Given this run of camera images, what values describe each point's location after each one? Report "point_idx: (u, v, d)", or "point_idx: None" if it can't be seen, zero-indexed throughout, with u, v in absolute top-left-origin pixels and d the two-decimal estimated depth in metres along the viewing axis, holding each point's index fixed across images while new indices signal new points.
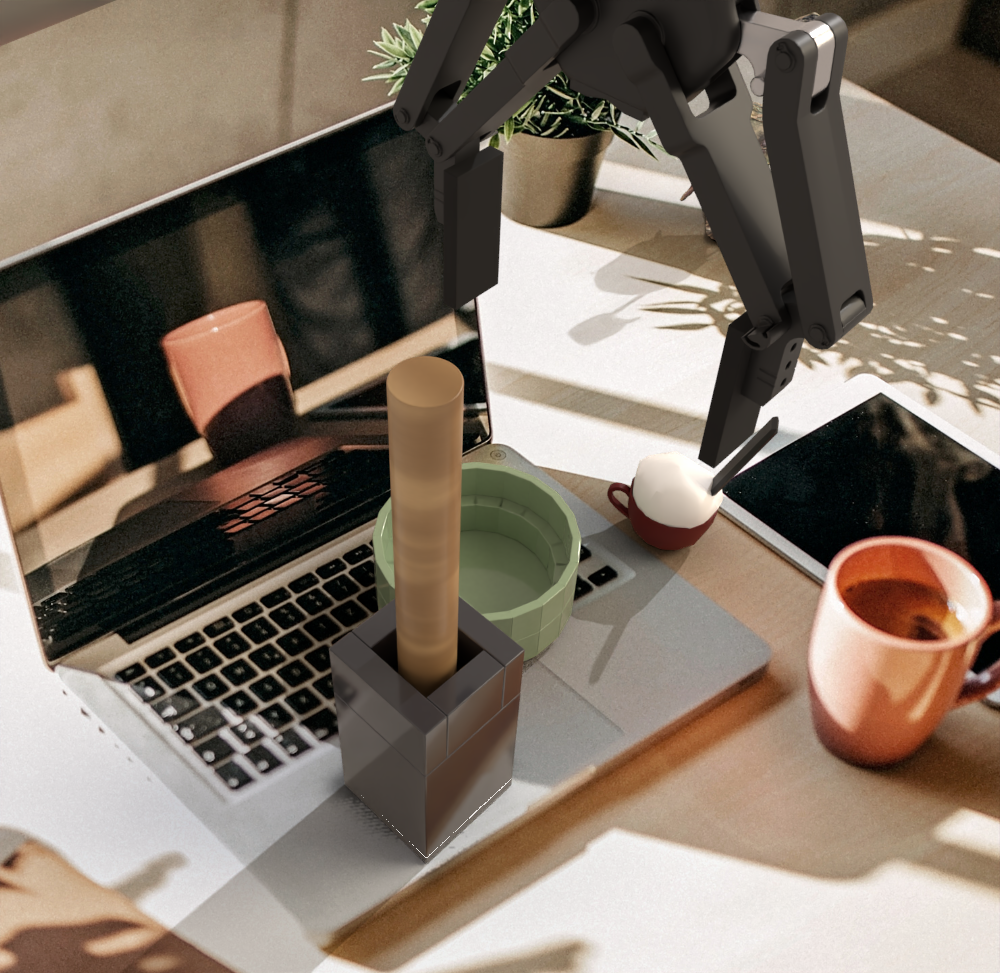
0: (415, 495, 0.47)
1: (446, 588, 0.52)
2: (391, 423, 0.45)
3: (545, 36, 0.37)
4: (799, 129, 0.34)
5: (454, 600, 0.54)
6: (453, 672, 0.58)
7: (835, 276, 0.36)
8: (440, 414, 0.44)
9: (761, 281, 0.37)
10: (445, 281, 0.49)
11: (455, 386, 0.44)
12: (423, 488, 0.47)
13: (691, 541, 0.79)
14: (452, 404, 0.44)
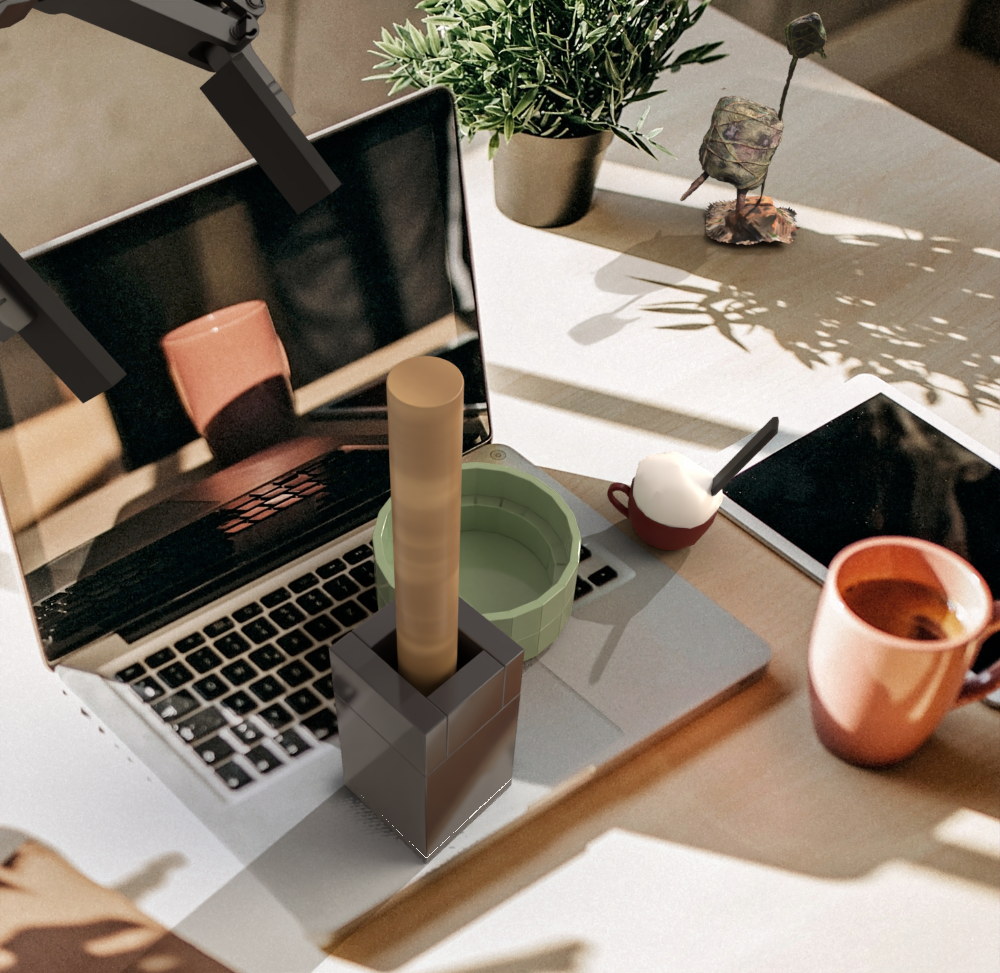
0: (415, 495, 0.47)
1: (446, 588, 0.52)
2: (391, 423, 0.45)
3: None
4: None
5: (454, 600, 0.54)
6: (453, 672, 0.58)
7: None
8: (440, 414, 0.44)
9: (204, 8, 0.46)
10: (91, 358, 0.40)
11: (455, 386, 0.44)
12: (423, 488, 0.47)
13: (691, 541, 0.79)
14: (452, 404, 0.44)
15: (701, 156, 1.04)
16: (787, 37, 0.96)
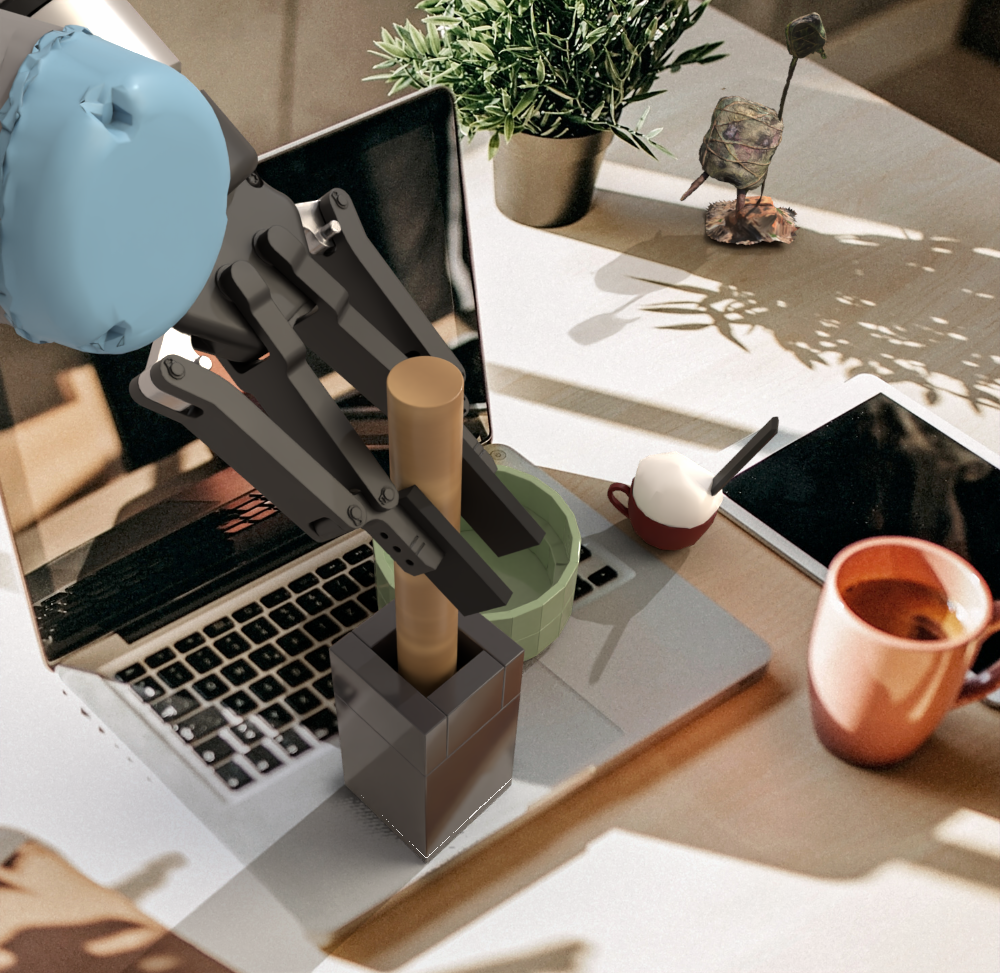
0: None
1: None
2: (391, 423, 0.45)
3: (263, 308, 0.43)
4: (369, 242, 0.49)
5: None
6: (453, 672, 0.58)
7: None
8: (440, 414, 0.44)
9: None
10: (489, 584, 0.48)
11: (455, 386, 0.44)
12: (423, 488, 0.47)
13: (691, 541, 0.79)
14: (452, 404, 0.44)
15: (701, 156, 1.04)
16: (787, 37, 0.96)
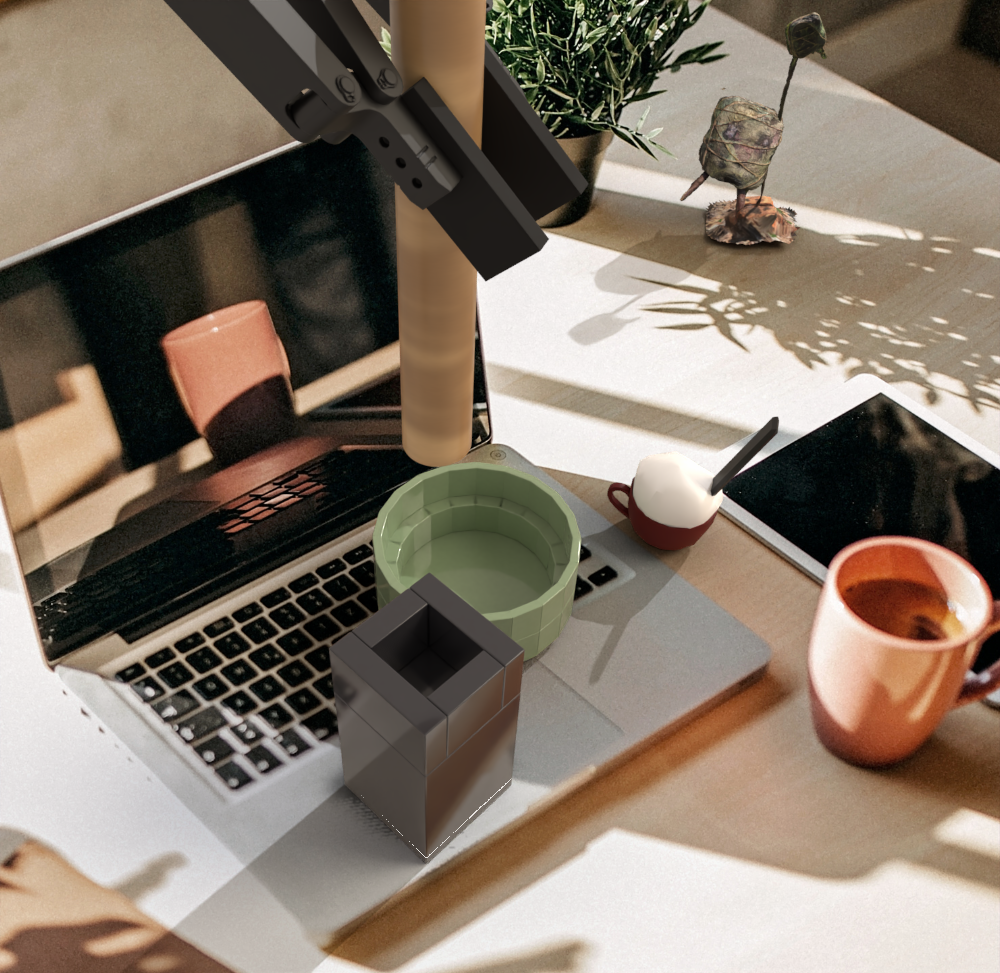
0: None
1: (462, 262, 0.41)
2: None
3: None
4: None
5: (472, 287, 0.43)
6: (469, 405, 0.47)
7: None
8: None
9: None
10: (519, 220, 0.37)
11: None
12: (434, 83, 0.36)
13: (691, 541, 0.79)
14: None
15: (701, 156, 1.04)
16: (787, 37, 0.96)
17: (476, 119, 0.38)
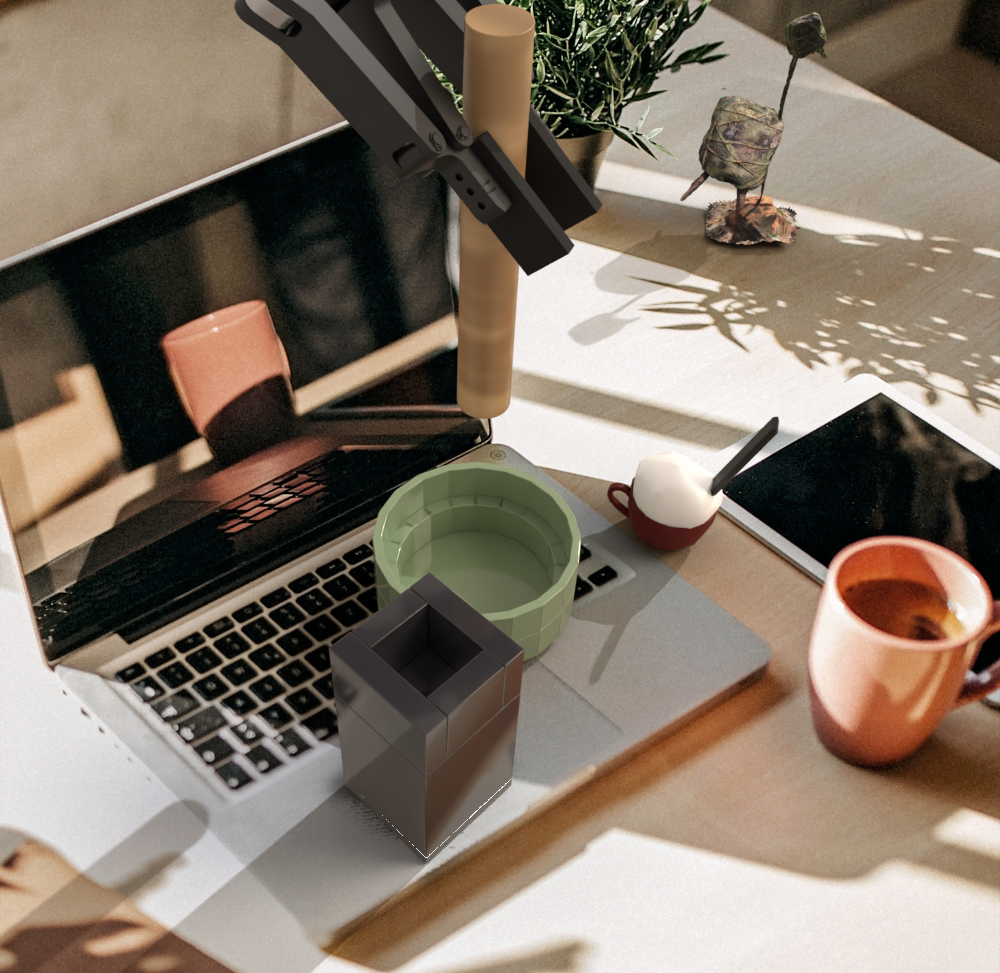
0: None
1: (509, 261, 0.56)
2: (467, 63, 0.49)
3: None
4: None
5: (515, 280, 0.58)
6: (510, 370, 0.62)
7: None
8: (514, 46, 0.48)
9: None
10: (554, 232, 0.52)
11: (527, 23, 0.48)
12: (494, 134, 0.51)
13: (691, 541, 0.79)
14: (525, 37, 0.48)
15: (701, 156, 1.04)
16: (787, 37, 0.96)
17: (522, 158, 0.53)
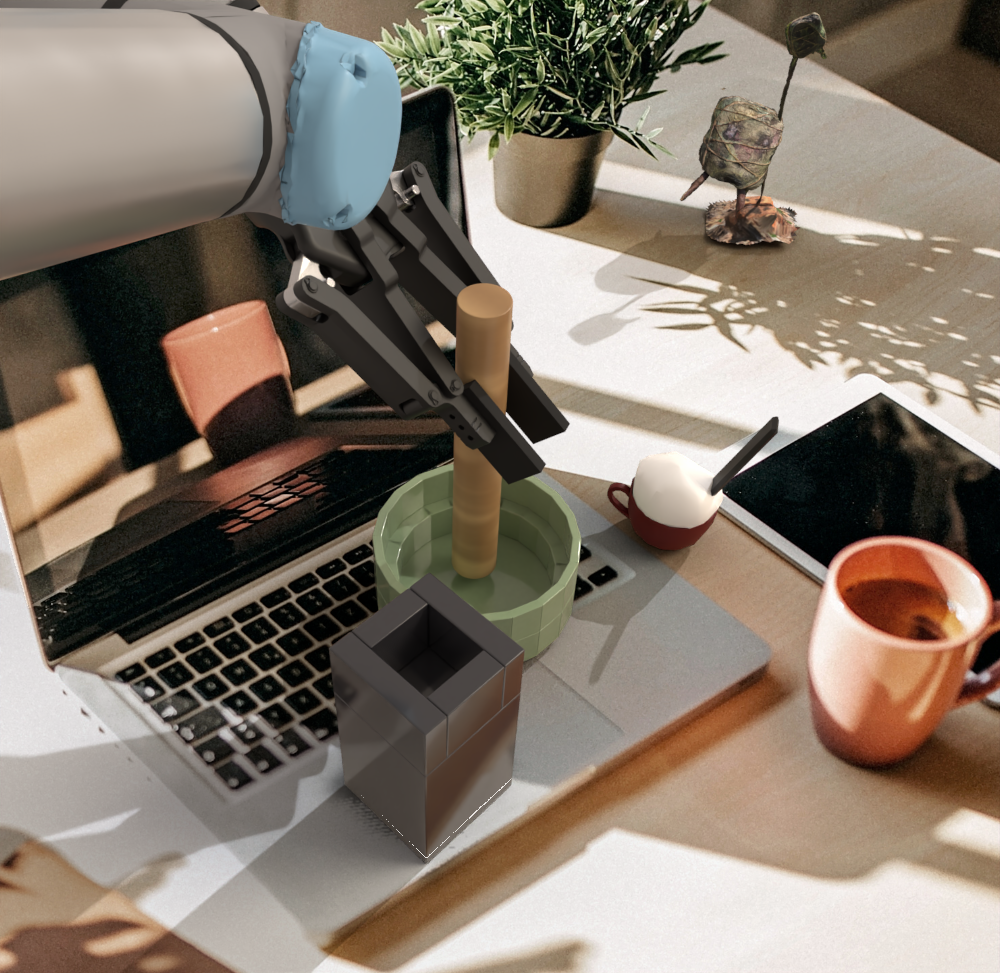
0: None
1: None
2: (459, 332, 0.62)
3: (369, 246, 0.60)
4: (439, 201, 0.65)
5: (499, 478, 0.70)
6: (495, 541, 0.74)
7: None
8: (496, 324, 0.60)
9: None
10: (529, 456, 0.65)
11: (506, 303, 0.61)
12: (480, 382, 0.63)
13: (691, 541, 0.79)
14: (504, 316, 0.60)
15: (701, 156, 1.04)
16: (787, 37, 0.96)
17: (504, 395, 0.65)
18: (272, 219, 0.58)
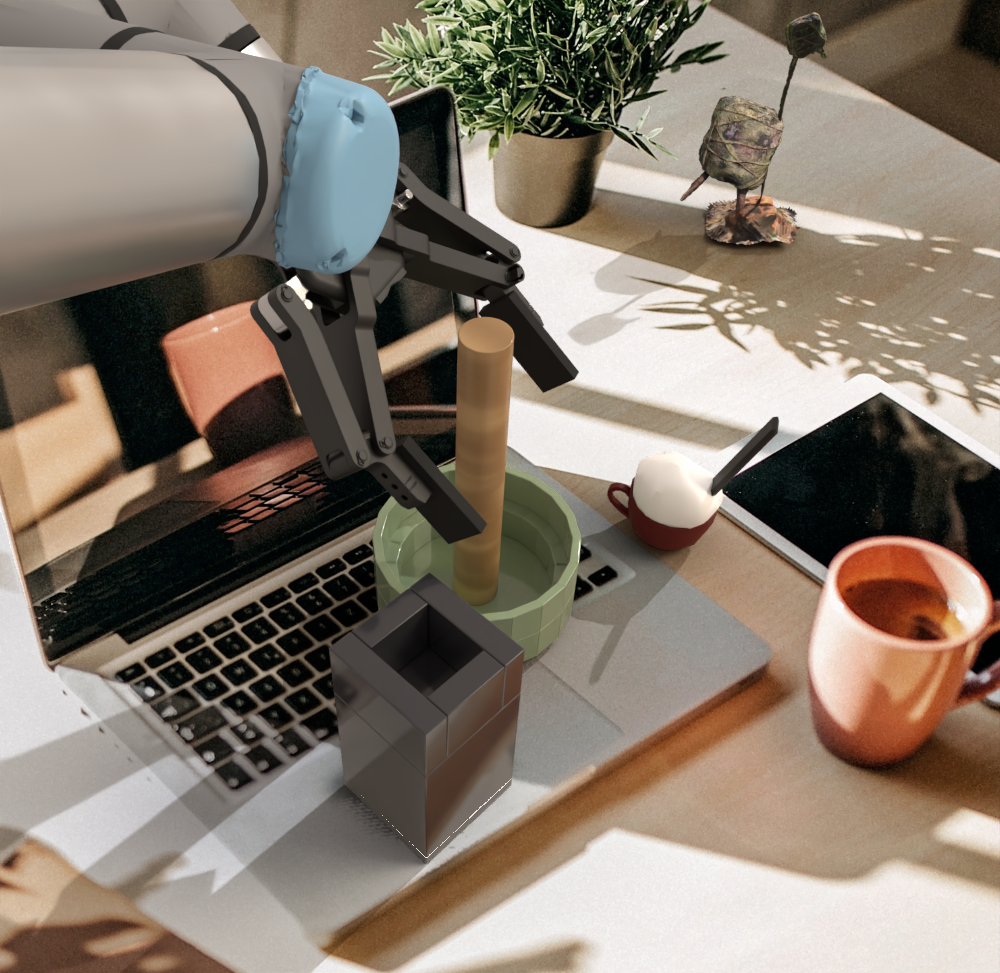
0: (476, 420, 0.64)
1: (495, 497, 0.69)
2: (460, 365, 0.62)
3: (359, 278, 0.59)
4: (429, 190, 0.65)
5: (500, 507, 0.70)
6: (497, 569, 0.75)
7: None
8: (498, 358, 0.60)
9: (489, 263, 0.67)
10: (468, 515, 0.60)
11: (508, 338, 0.61)
12: (482, 415, 0.63)
13: (691, 541, 0.79)
14: (506, 351, 0.60)
15: (701, 156, 1.04)
16: (787, 37, 0.96)
17: (505, 427, 0.65)
18: None
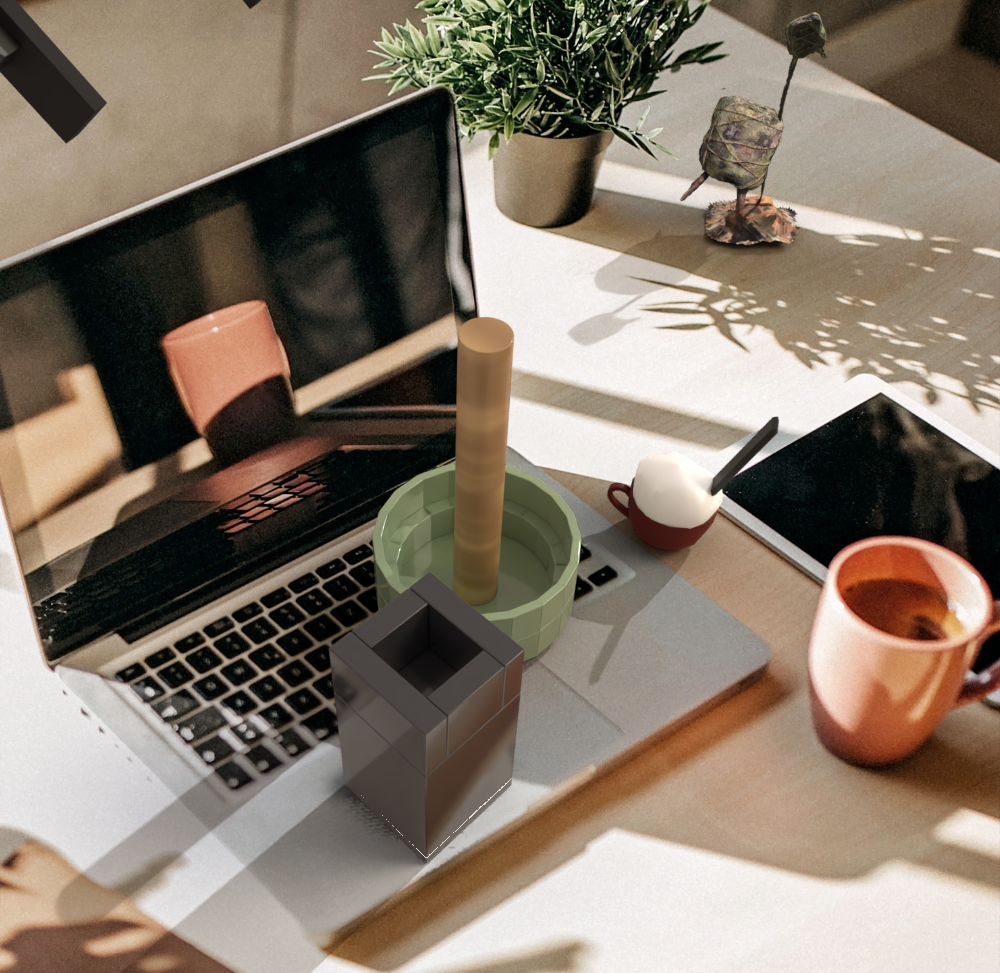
0: (476, 420, 0.64)
1: (495, 497, 0.69)
2: (460, 365, 0.62)
3: None
4: None
5: (500, 507, 0.70)
6: (497, 569, 0.75)
7: None
8: (498, 358, 0.60)
9: None
10: (74, 84, 0.44)
11: (508, 338, 0.61)
12: (482, 415, 0.63)
13: (691, 541, 0.79)
14: (506, 351, 0.60)
15: (701, 156, 1.04)
16: (787, 37, 0.96)
17: (505, 427, 0.65)
18: None
